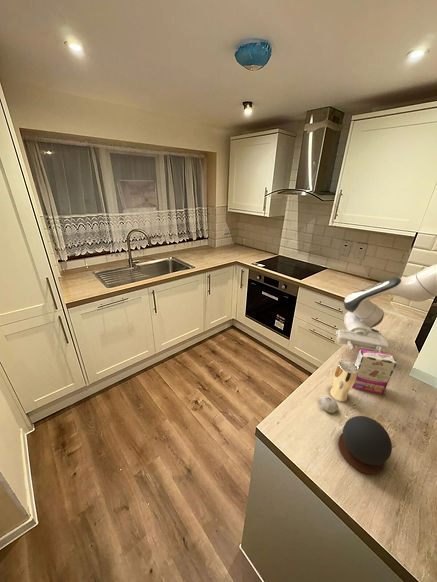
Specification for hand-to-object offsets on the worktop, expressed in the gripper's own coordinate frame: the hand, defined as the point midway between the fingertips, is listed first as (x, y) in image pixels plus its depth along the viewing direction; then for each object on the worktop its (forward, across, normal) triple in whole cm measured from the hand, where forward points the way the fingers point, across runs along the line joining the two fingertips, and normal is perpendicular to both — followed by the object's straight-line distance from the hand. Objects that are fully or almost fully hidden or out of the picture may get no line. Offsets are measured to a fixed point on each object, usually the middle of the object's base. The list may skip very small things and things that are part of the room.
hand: (365, 351), depth 98 cm
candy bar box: (+11, 0, +10) cm, 15 cm away
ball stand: (+40, -8, +10) cm, 42 cm away
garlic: (+26, -16, +10) cm, 32 cm away
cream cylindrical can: (+19, -11, +10) cm, 24 cm away
